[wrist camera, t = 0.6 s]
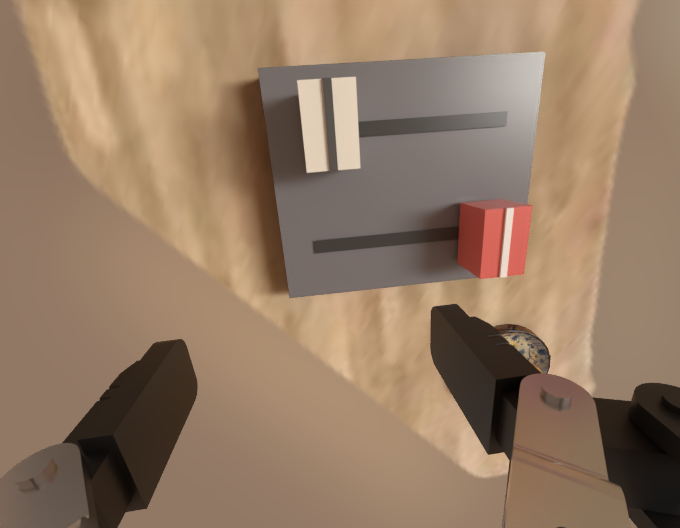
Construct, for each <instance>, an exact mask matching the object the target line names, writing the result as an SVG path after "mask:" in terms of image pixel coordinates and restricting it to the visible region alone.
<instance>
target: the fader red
mask: <svg viewBox="0 0 680 528" xmlns="http://www.w3.org/2000/svg"><path fill="white" fill-rule="evenodd" d="M531 213H532V205H527V204H522V203H518V202H513V201H508V200H503V199H496V200H485V201H474V202H463V203H460V218H459V238H458V258H457V263H458V264H459V265H461V266H462V267H464V268H465V269H467V270H468V271H469V272H471V273H472V274H474V275H475V276H477V277H478V278H480V279H484V278H493V277H500V278H502V277H507V276H511V275H521V274H524V269H525V261H526V253H527V245H528V237H529V229H530V221H531Z"/></svg>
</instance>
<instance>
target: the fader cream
mask: <svg viewBox="0 0 680 528" xmlns="http://www.w3.org/2000/svg"><path fill="white" fill-rule="evenodd" d="M297 85H298V94H299V104H300V113H301V123H302V132H303V142H304V152H305V161H306V171H307V173H310V172H323V171H336V170H347V169H359V168H360V148H359V128H358V109H357V89H356V77H342V78H331V77H330V78H322V79H309V80H297Z"/></svg>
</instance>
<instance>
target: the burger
mask: <svg viewBox="0 0 680 528" xmlns="http://www.w3.org/2000/svg"><path fill="white" fill-rule="evenodd" d="M494 328H495V327H494ZM495 329H496V330H497V331H498V332H499V333H500V335H501V336H503V337H504V338H505V339H506V340H507V341H508V342H509V344H511V345H513V346H514V347H515V348H516V349H517V350H518V351H519V352H520V353H521V354H522V355H523V356H524V357H525V358H526V359H527V360H528V361H529V362H530V363H532V364H533V365H534V366H535V367H536V368H537V369H538V370H539V371H540V372H541V373H542V374H547V373H548V370H549V368H550V357H551V356H550V355H549V351H548V348H547V346H546V345H545V344H544V342H543V341H542V340H541V339H540V338H538V337H537V336H536V335H535V334H534V333H533V332H532V331H531V330H529V329H527V328H525V327H522V326H519V325H512V324H505V325H497V326H496V328H495Z"/></svg>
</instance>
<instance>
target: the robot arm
mask: <svg viewBox="0 0 680 528" xmlns="http://www.w3.org/2000/svg"><path fill="white" fill-rule="evenodd" d="M430 347H431V355H432V359H433V362H434V364H435V366H436V368H437V370H438V372H439V373H440V375H441V377H442V378H443V380H444V382H445V383H446V385H447V387H448V388H449V390H450V392H451V393H452V395H453V397H454V398H455V400H456V402H457V403H458V405H459V407H460V408H461V410H462V412H463V413H464V415H465V417H466V419H467V420H468V422H469V424H470V425H471V427H472V429H473V430H474V432H475V434H476V435H477V437H478V439H479V440H480V442H481V444H482V445H483V447H484V449H485V450H486V452H487V454H488V455H489V454H496V453H502V452H504V453H505V454H506V456H507V457H508V459H509V460H510V462H509V470H508V478H507V487H506V495H505V504H504V512H503V521H502V528H631V525H630V520H629V518H630V519H631V520H632V521H633V522H634V524H635V525H636V526H637V527H638V528H680V388H679V387H676V386H671V385H667V384H661V383H645V384H641V385H639V386H638V387H636V388H635V390H634V394H633V397H632V401H622V400H612V399H602V398H593V397H591V395H590V394H589V393H588V392H587V391H586V390H585V389H583V388H582V387H581V386H579V385H577V384H576V383H574V382H572V381H570V380H568V379H565V378H563V377H560V376H556V375H551V374H542V373H541V372H540V371H539V370H538V369H537V368H536V367H535V366H534V365H533V364H532V363H530V362H529V361H528V360H527V359H526V358H525V357H524V356H523V355H522V354H521V353H520V352H519V351H518V350H517V349H516V348H515V347H514V346H513V345H511V344H509V342H508V341H507V340H506V339H505V338H504V337H503V336H501V335H500V333H499V332H498V331H497V330H496V329H495V328H494V327H492V326H491V325H490V324H489V323H487V322H485V321H483V320H481V319H479V318H477V317H469V316H468V315H467V314H466V313H465V312H464V311H463V310H462V309H461V308H460V307H459V306H458V305H457V304H451V305H443V306H435V307H433V308H432V310H431V343H430ZM196 396H197V379H196V375H195V372H194V369H193V366H192V362H191V359H190V356H189V352H188V349H187V346H186V344H185V342H184V341H183V340H182V339H177V340H170V341H162V342H156V343H154V344H153V345H152V346H151V347H150V349H149V350H148V351H147V352H146V354H145V355H144V356H143V357H142V359H141V360H140V361H136V362H135V363H134V364H132V365H131V366H130V367H128V368H127V369H126V370H124V371H123V372H122V373H121V374H120V375H119V376H118V377H117V378H116V379H115V380H114V382H113V383H112V384H111V385H110V387H109V389H108V390H106V391H105V392H104V394H103V395H102V396H101V397H100V401H97V402H96V403H95V404H94V406H93V407H92V408H91V409H90V410H89V412H88V413H87V414H86V415H85V417H84V418H83V419H82V420H81V421H80V422H79V424H78V425H77V426H76V427H75V428H74V430H73V431H72V432H71V433H70V434H69V436H68V437H67V438H66V439H65V441H63V443H62V444H57V445H53V446H50V447H47V448H45V449H42V450H40V451H38V452H36V453H34V454H32V455H31V456H29V457H27V458H26V459H24V460H22V461H21V462H20V463H18V464H17V465H15V466H14V467H13V468H12V469H11V470H9V471H8V472H7V473H6V474H5V475H4V476H3V477H2V478H1V479H0V528H120V527H119V524H120V522H121V520H122V518H123V516H124V514H125V512H129V511H134V510H140V509H147V507H148V505H149V502H150V500H151V498H152V496H153V493H154V491H155V489H156V487H157V484H158V482H159V480H160V478H161V475H162V473H163V471H164V469H165V467H166V464H167V462H168V460H169V458H170V455H171V453H172V451H173V449H174V446H175V444H176V442H177V440H178V437H179V435H180V433H181V431H182V428H183V426H184V424H185V422H186V420H187V417H188V415H189V413H190V411H191V408H192V406H193V404H194V402H195V399H196Z"/></svg>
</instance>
